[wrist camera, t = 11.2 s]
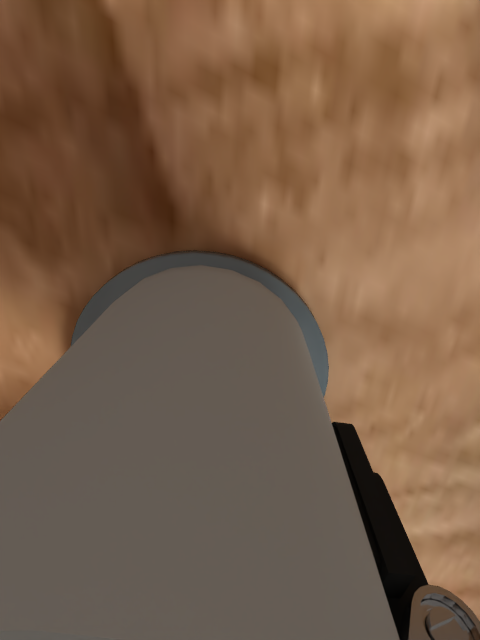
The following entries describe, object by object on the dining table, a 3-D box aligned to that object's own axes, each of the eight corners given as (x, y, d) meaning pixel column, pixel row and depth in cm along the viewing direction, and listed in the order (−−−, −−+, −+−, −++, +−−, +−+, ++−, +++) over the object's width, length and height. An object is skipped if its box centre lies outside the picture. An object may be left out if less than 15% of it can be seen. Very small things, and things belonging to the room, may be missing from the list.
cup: (246, 217, 10) (235, 512, 2) (361, 440, 13) (530, 861, 5) (61, 320, 11) (-403, 719, 3) (209, 492, 15) (165, 874, 7)
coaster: (65, 231, 11) (56, 235, 10) (355, 270, 11) (361, 276, 11) (86, 447, 15) (80, 458, 15) (296, 469, 16) (298, 479, 15)
